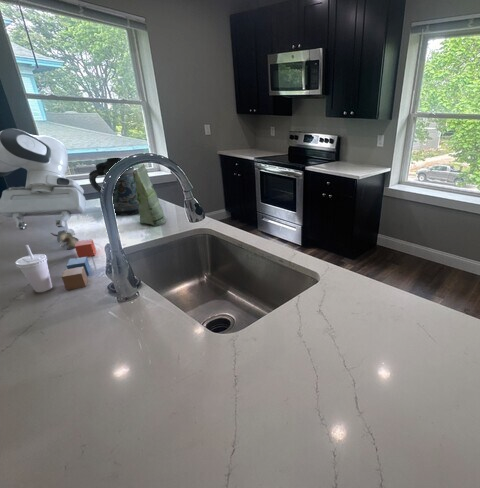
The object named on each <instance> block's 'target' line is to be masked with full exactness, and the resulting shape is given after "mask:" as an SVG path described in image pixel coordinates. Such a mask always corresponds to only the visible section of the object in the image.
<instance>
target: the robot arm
mask: <svg viewBox="0 0 480 488" xmlns="http://www.w3.org/2000/svg"><path fill="white" fill-rule="evenodd" d="M68 155H69V153H68V150H67V148H66V146H65V144H64V143H62V141H61V140H59V139H57V138H55V137H52V136H49V135H35V134H30V133H29V132H26V131H24V130H21V129H18V128H12V127H11V128H5V129H3V130H1V131H0V178H1V177H2V178H3V177H7V176H8V175H10V174H12V173H14V172H15V171H16V170H18V169H25V170H26V171H27V172H26V179H25V180H26V181H25V186H17V187H15V186H11V187H10V186H9V187H8V188H6V189H4V190H3V191H2V192H1V197H0V215H2V216H4V217H6V218H13V220H14V221H15V224H16V225H15V228H16V230H19V231H24V230H27V227H28V224H27V223H26V222H24V221H22V220H24V217H42V216H43V217H44V216H45V217H46V216H61V217H60V219H56V220H55V222H56V223H55V226H56V227H57V228H65V227H66V223H67V222H68V221H69V220H70V219H71V217H72V215H81V214H83V213H85V212H86V211H87V210H86V209H87V201H86V196H85V195H84V193H85V190H84V189H83V187H82V186H81V185H80V184H79V183H78V182H77V181H76V180H74V179H72V178H68V177H66V173H67V171H68V167H69V165H68V164H69V156H68Z"/></svg>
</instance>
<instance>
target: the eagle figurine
mask: <svg viewBox="0 0 480 488" xmlns="http://www.w3.org/2000/svg"><path fill="white" fill-rule="evenodd" d="M50 234H51V236H54V237H56V241H57V243H60V248H62V247H63V246H65V244H66V243H67V246H66V249H67V250H76V249H75V244H76V242H77V241H80V240H79V239H78V238H77V237H75V235H76V232H75V231H74V229H72V228H66V230H65V229H64V230H59V231H58V232H57V234H55V233H53V232H50Z"/></svg>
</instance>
